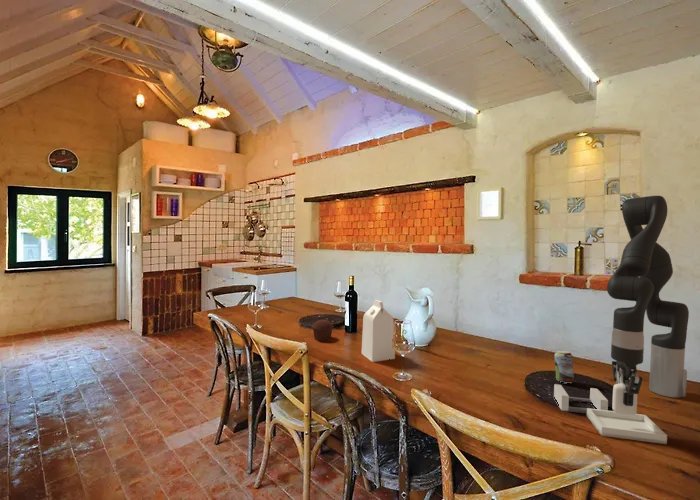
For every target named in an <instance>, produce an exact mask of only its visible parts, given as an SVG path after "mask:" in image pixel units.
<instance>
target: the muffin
mask: <svg viewBox="0 0 700 500" xmlns="http://www.w3.org/2000/svg"><path fill="white" fill-rule="evenodd" d="M333 329H334V325H333V324H332V322H330V321H329V320H327V319H319V320H317V321H315V322H314V323H313V326H312V331H313V338H314V340H315V341H319V342H327V341H330V340H331V338H332V333H333Z"/></svg>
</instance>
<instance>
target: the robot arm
mask: <svg viewBox="0 0 700 500" xmlns="http://www.w3.org/2000/svg"><path fill="white" fill-rule="evenodd" d="M667 204H668V203H667V201H666V198H665V197H664V196H662V195H649V196H640V197H633V198H627V199H625V200H624V201H623V202H622V205H621V213H622V219H623V221H624V224H625V227H626V230H627V234H628V235H629V239H630V240H629V241H628V242H627V244H626V245H625V246H624V249H623V252H622V255H621V259H620V263H619V265H618V267H617V268H616V269H615V271H614V273H613V274H612V275H611V277H610V278H609V280H608V281H607V283H606V284H607V285H606V291H607V294H608V295H609V297H610V298H611V299H615V300H620V301H627V302H628V301H631V302H635V305H634V306H629V307H618V308H615V309H614V311H613V323H612V326H613V327H612V332H611V343H610V344H611V347H610V349H611V350H610V357H611V359H613V360H612V361H611V366H612V367H611V368H612V376H613V381H614V382H615V384H619V383H620V377H621V383H622V384H623V388H624V394H623V404H624V405H626V406H633V397H634V394H637V395H639V392H640V389H641V387H642V382H643V377H642V376H638V369H637V366H638V365H641V364H642V363H644V353H645V352H644V351H645V336H644V335H645V333H644V326H645V325H644V323H645V315H646V317H647V319H648V321H649V322H650V323H651V324H653V325H656V326H661V327H666V328H670V329H671V330H670V332H668V333H659V334H654V335H651V341H650V361H649V363H650V364H649V382H648V385H649V386H648V389H649V391H651V392H653V393H655V394H657V395H660V396H663V397H669V398H686V397H687V378H688V371H687V369H685V357H686V355H685V354H686V353H685V352H686V343H687V333H688V332H687V331H688V323H689V316H690V315H689V314H690V312H689V307H688V305H687V304H686V303H683V302H676V301H669V300H663V299H661V297H660V293H661V291H662V289H663V288H664V287H665V286H666V284H667V283H668V282H669V281H670V279H671V278H672V275H673V273H674V269H673V263H672V259H671V256H670V254H669V252H668V251H667V250H666V248H664V247H663V246H662V245H661V244H659V243H658V242H657V241H658V239H659V237H660V234H661V232H662V230H663V227H664V226H665V222H666V220H667V217H668V205H667ZM643 226H644V228H643ZM625 380H629V382H627V381H625ZM627 385H628V386H627Z"/></svg>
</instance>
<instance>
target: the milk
mask: <svg viewBox="0 0 700 500" xmlns="http://www.w3.org/2000/svg"><path fill="white" fill-rule="evenodd" d="M362 318H363V319H362V334H361V335H362V336H361V355H362V356H364V357H365V358H367V359H368V360H369V361H370V362H372V363H374V362H375V363H376V362H380V361H388V360H389V359H390V360H395V359H396V354H395V352H396V351H395V350H396V349H395V350H394V349H393V348H392V339H393V335H394V336H395V326H394V324H395V323H394V318H393V317H392V315H391V314H390V313H389V312H388V311H387V310H386V309H385V308H384V303H383V301H381V300H378V299H374V300H373V303H372V305H371V307H369V308H368V310H367V311H365V313H364V314H363V317H362Z"/></svg>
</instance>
